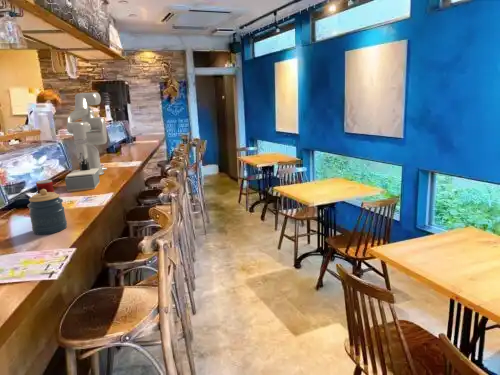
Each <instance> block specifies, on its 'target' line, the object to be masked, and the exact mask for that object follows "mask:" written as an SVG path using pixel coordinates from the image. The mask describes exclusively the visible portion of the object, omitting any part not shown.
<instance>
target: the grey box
mask: <svg viewBox="0 0 500 375" xmlns="http://www.w3.org/2000/svg"><path fill="white" fill-rule="evenodd" d="M64 180H65V181H64V182H65V186H66V191H67V192H76V191H87V190H95V189H96V188H97V187H98V186H99V184H100V183H101V182H100V175H99V173H98V171H97V172H96V173H95V174H94V175H86V176H75V177H65V178H64Z"/></svg>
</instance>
